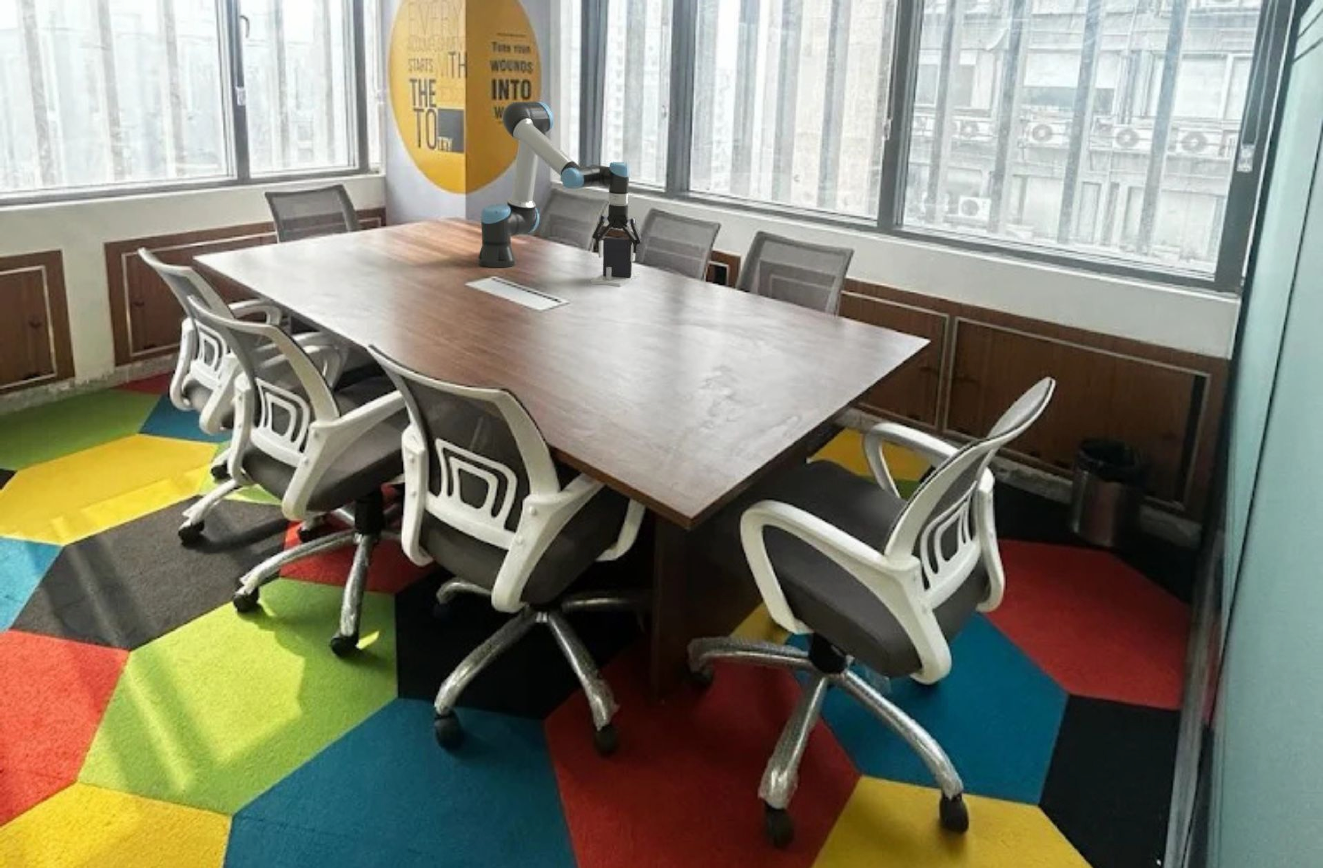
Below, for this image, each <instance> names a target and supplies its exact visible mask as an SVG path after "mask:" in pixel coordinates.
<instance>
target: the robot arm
mask: <svg viewBox="0 0 1323 868" xmlns="http://www.w3.org/2000/svg"><path fill="white" fill-rule="evenodd" d="M501 118H502V119H501V120H502V124H503V127H504V128H505V130H506V132H508V134H509V135H510V136H511V137H512V138H513V139H515V140H516V141H518V145H517V146H518V148H517V154H516V155H517V156H516V161H515V162H516V164H515V169H514V171H515V172H514V179H513V184H512V185H513V186H512V187H513V188H512V192H511V193H512V194H511V197H509V198H508V199H507V203H506V204H492V205H491V204H490V205H487V206H485V207H484V208H482V210H481V213H480V214H481V217H480V223H481V225H480V227H481V244H482V245H481V248H480V251H479V255H478V257H477V258H478V259H477V261H478V262H477V264H478V265H479V266H481V267H482V266H483V267H485V268H486V267H487V268H509V267H512V266H515V265H516V257H515V254H514V252H513V248H512V242H511V241H512V240H511V237H513V236H514V237H515V236H521V235H523V236H524V235H527V234H529V233H530V234H531V233H532V232H534V231H535V230H536V229H538V228H537V227H538V226H539V223H540V213H539V210H538V208H536V207H537V206H536V203H535V201H534V200H533V199H534V194H535V186H536V177H537V172H538V165H539V158H540V159H541V160H542V161H543V162H545V164H547V166H549V167H550V168H551V169H552V170H553V171H554V172H556V174H558V175H559V176H560V180H561V182H562V185H563V186H564V187H565V188H566V189H569V190H577V189H583V188H589V187H590V188H591V187H598V186H599V187H606V188H607V187H608V203H609V204H608V214H607V215H608V216H607V215H605V214H602V215H600V216H599V217H600V219H599V222H598V224H597V226H596V228H595V230H594V232H593V234H592V236H591V237H592V239H595V240H596V249H598V258H599V259H600V258H603V239H604V238H605V237H606V236H605V235H607V234H608V232H609V231H610V230H611V229H615V230H616V229H618V230H622V231H623V232H624V233H625V234H626V236H627V238H629V239H630V240H631V241H632V245H631V262H632V263H633V262H635V261H636V254H637V253H638V250H639V249H638V248H639V247H638V245H640V244H643V239H642V236H641V233H640V231H639V228H638V226H637V223H636V221H637V220H636V218H635V217H633V218H629V217H628V213H629V205H628V204H629V183H630V165H629V164H628V163H627V162H622V161H621V162H620V161H612V162H609V166H606V165H605V166H604V165H598V164H596V163H595V164H586V165H585V166H581V165H579V164H577V163H576V162H575V161H574V160H573V159H572V158H571V157H569V156H568V154H566V153H565V152H564V151H563V150H561V149H560V148H559V147H558V145H556V144H555V143H554V142H553V141H551V139H549V138H548V137H547V136H546V135H547V133H548V132H549V131H550V130H552V127H553V126H554V115H553V112H552V110H551V107H550V106H548V105H547V104H546V103H544V102H542V101H535V100H533V101H514V102H511V103H509V104H508V105H507V106H506V107H505V108H504V109H503V113H502V117H501ZM606 221H608V224H607V225H606V227H605V228H604V229H603V226H604V224H605V222H606ZM628 223H629V225H630V227H631V229H632V231H631V230H630V227H629V225H628ZM602 229H603V230H602ZM601 230H602V231H601ZM600 232H601V233H600Z"/></svg>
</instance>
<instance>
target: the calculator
mask: <svg viewBox="0 0 1323 868" xmlns="http://www.w3.org/2000/svg"><path fill="white" fill-rule="evenodd" d="M602 240H603V257H602V264H603V265H602V275H603V276H606V267H612V270H611V277H621V278H630V277H631V272H633V271H632V268H633V267H632V265H633V262H631V245H632V244H633V243H632V241H631V240H630V239H629V237H627V238H626V237H613V236H612V237H610V236H604V237H603V238H602Z"/></svg>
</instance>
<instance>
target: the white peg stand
mask: <svg viewBox="0 0 1323 868" xmlns="http://www.w3.org/2000/svg"><path fill="white" fill-rule="evenodd" d="M611 270H612V267H606V276H603V274H601V275H599V276H596V277H595V278H592V279H591V280H590V281H591V284H598V285H604V286H612V287H622V286H624V285H626V284H628V283H630V282H632V281H633V280H635V279H638V278H639V277H641V276H640V275H642V273H641V272H638V271H632V272H631V277H630V278H621V277H611Z"/></svg>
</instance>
